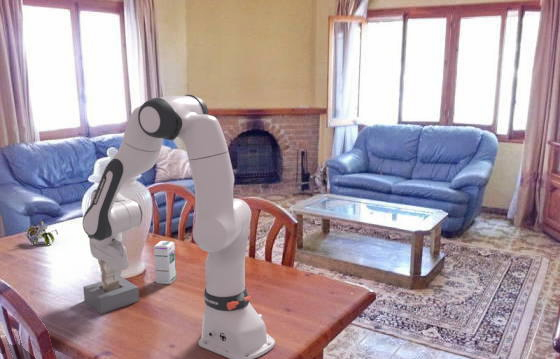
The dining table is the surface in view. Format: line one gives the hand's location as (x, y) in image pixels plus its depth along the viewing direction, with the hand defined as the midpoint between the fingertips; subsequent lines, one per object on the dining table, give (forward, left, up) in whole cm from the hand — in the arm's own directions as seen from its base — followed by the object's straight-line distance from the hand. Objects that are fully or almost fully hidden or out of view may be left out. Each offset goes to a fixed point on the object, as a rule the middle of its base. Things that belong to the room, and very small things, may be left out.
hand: (110, 275), depth 162 cm
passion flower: (+78, -4, -9) cm, 79 cm away
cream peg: (0, 0, -9) cm, 9 cm away
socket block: (0, 0, -9) cm, 9 cm away
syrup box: (+2, -22, -9) cm, 24 cm away
